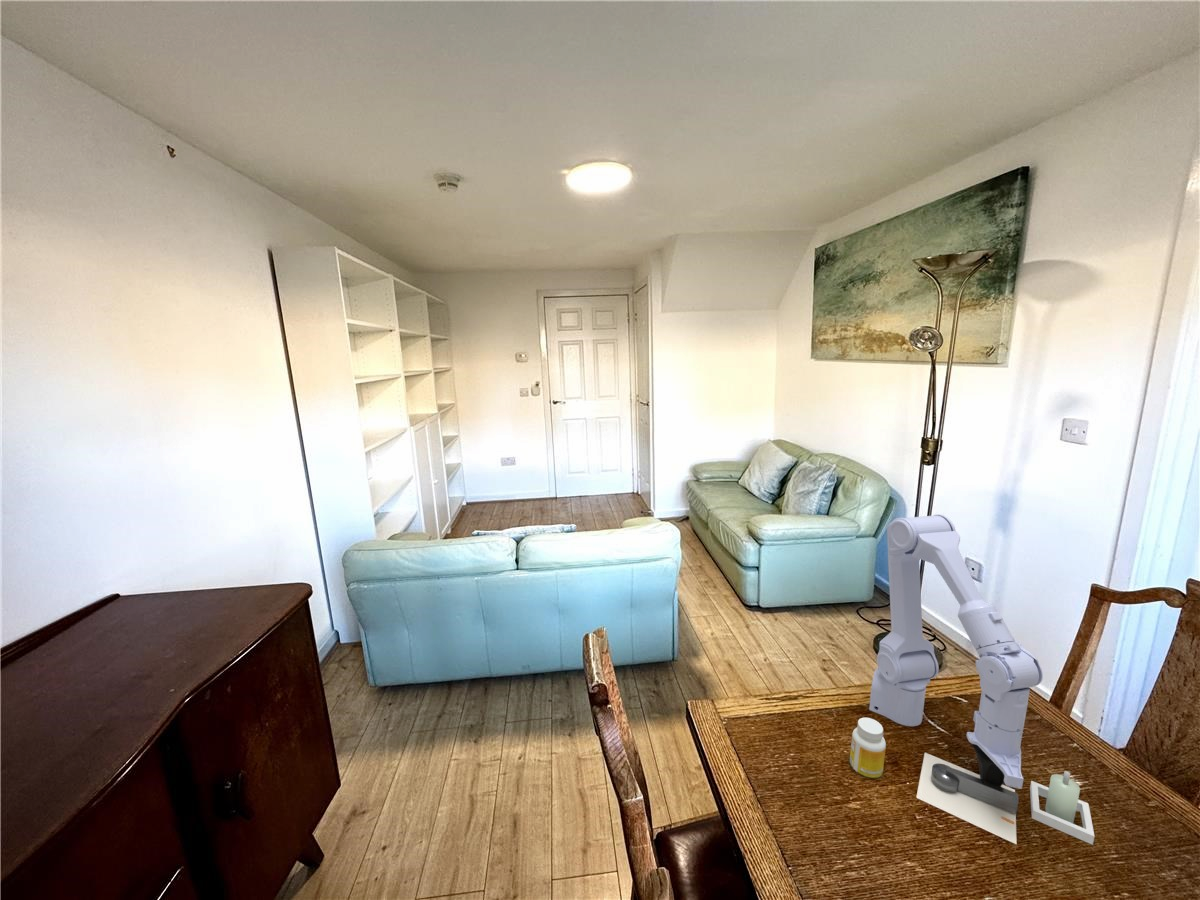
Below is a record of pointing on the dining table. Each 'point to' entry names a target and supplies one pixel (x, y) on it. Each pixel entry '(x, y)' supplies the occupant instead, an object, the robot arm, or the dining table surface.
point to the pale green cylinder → (1062, 797)
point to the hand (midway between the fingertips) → (989, 788)
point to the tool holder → (1058, 823)
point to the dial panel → (966, 803)
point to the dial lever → (973, 787)
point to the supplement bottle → (868, 748)
